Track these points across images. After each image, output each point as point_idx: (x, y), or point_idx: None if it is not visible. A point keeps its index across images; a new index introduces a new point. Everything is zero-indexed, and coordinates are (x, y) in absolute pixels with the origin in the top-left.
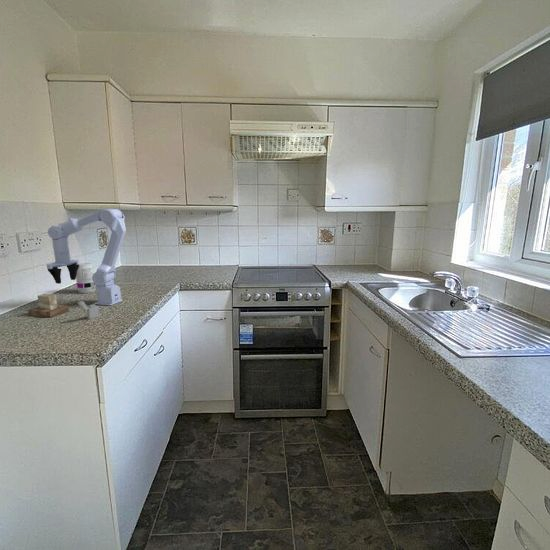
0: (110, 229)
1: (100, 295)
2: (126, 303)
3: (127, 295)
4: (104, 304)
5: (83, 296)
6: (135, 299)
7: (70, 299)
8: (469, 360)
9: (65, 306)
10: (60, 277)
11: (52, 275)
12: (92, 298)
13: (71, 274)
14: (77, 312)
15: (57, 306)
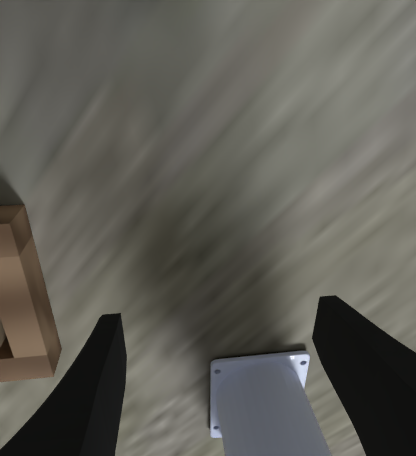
0: None
1: (224, 443)
2: None
3: None
4: (210, 412)
5: (373, 151)
6: (326, 441)
7: (281, 125)
8: None
9: (37, 372)
10: (113, 440)
11: (42, 412)
12: (325, 256)
13: (354, 365)
14: None
15: (10, 336)
